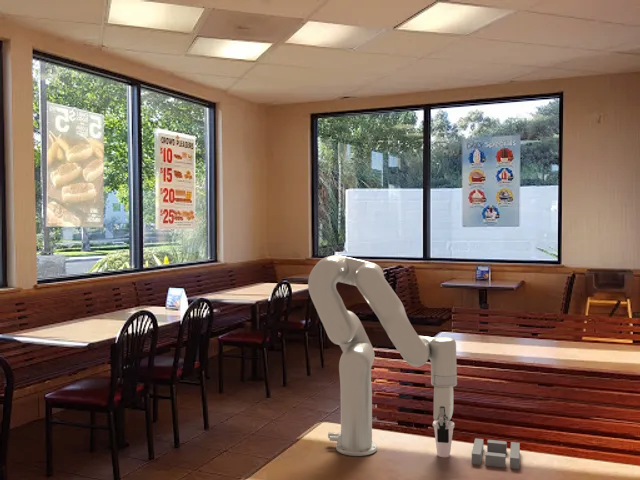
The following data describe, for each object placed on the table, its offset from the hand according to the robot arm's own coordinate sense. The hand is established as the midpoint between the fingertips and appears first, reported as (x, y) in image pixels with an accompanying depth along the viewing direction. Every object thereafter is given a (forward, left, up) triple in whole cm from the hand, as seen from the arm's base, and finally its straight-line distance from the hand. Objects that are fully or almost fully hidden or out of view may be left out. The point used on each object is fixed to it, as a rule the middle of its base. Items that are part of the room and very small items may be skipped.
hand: (445, 436), depth 184 cm
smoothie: (0, 0, -6) cm, 6 cm away
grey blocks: (+15, +2, -6) cm, 16 cm away
